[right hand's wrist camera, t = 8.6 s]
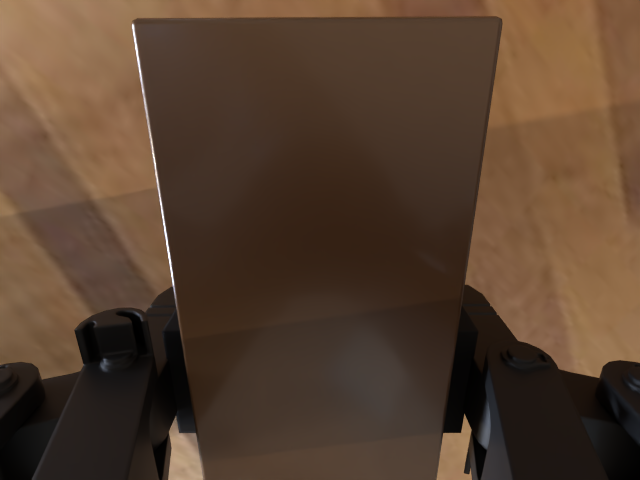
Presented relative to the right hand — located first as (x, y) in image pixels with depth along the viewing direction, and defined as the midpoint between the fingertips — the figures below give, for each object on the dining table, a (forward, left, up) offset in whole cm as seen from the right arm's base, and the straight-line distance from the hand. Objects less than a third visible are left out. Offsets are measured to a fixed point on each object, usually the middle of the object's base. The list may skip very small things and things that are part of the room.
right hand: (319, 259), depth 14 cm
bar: (-2, -23, -1) cm, 24 cm away
